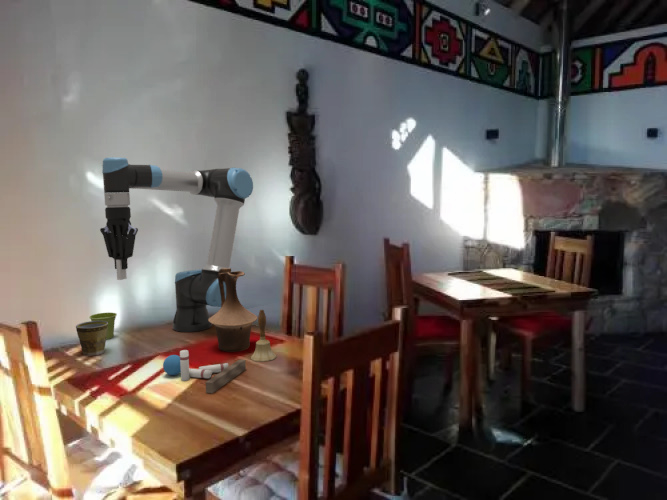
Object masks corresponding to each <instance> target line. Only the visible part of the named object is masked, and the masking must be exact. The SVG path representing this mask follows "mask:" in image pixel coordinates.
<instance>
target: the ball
mask: <svg viewBox="0 0 667 500" xmlns="http://www.w3.org/2000/svg"><path fill="white" fill-rule="evenodd" d="M162 369H163V371H164V372H165V373H166V374H167V375H169V376H177V375H179V374H181V366H180V355H177V354H169V355H168V356H167V357H166V358H165V359H164V360H163V364H162Z"/></svg>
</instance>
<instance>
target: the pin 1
mask: <svg viewBox="0 0 667 500" xmlns="http://www.w3.org/2000/svg"><path fill="white" fill-rule="evenodd" d="M179 356H180V366H181V372H180V380H181V381H182V382H185V381H190V378H191V377H190V376H189V368H190V353H189V349H188V350H187V349H183V350H180V351H179Z"/></svg>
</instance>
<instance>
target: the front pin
mask: <svg viewBox="0 0 667 500" xmlns="http://www.w3.org/2000/svg"><path fill="white" fill-rule="evenodd" d="M212 374H213V373H212V371H211V370H204V369H203V370H202V369H199V368H190V367H189V376H190V378H196V379H197V378H198V379H207V380H210V379H211V378H212V377H213V376H212Z"/></svg>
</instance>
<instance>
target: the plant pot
mask: <svg viewBox="0 0 667 500" xmlns="http://www.w3.org/2000/svg"><path fill="white" fill-rule="evenodd" d="M117 315H118V314H117V313H116V312H99V313H94V314H91V315H90V316H89V319H90V320H91V321H106V322H108V329H107V335H106V340H111V339H112V338H113V337H114V335H115V323H116V322H115V321H116V317H117Z"/></svg>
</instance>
